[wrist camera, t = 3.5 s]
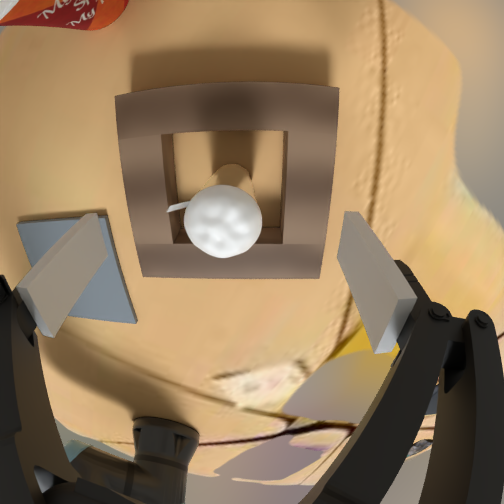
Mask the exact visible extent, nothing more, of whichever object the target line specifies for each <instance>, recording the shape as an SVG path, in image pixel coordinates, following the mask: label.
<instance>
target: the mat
mask: <svg viewBox="0 0 504 504" xmlns="http://www.w3.org/2000/svg"><path fill="white" fill-rule="evenodd" d="M81 218H82V217H73V218H60V219H47V220H36V221H25V222H19V223H17V224H16V225H17V228H18V231H19V234H20V237H21V240H22V243H23V246H24V249H25V251H26V254H27V257H28V259H29V262H30V264H31V267H33V266H34V265H35V264H36V263H37V262H38V261H39V260H40V259H41V258H42V257H43V255H44V254H45V253H46V252H47V251H48V250H49V249H50V248H51V247H52V246H53V245H54V244H55V243H56V242H57V241H58V240H59V239H60V238H61V237H62V236H63V235H64V234H65V233H66V232H67V231H68V230H69V229H70V228H71V227H72V226H73V225H74V224H76V223H77V222H78V221H79V220H80V219H81ZM98 219H99V224H100V228H101V231H102V235H103V239H104V243H105V246H106V250H107V253H108V256H107V257H106V259H105V260H104V262H103V263H102V264H101V266H100V267H99V269H98V270H97V271H96V273H95V274H94V276H93V277H92V279H91V280H90V282H89V283H88V284H87V286H86V287H85V289H84V290H83V292H82V293H81V295H80V297H79V298H78V300H77V301H76V303H75V304H74V306H73V307H72V309H71V311H70V312H69V314H68V315H67V316H73V317H80V318H88V319H95V320H104V321H112V322H122V323H132V324H136V323H137V321H138V320H137V317H136V314H135V312H134V309H133V306H132V303H131V300H130V297H129V294H128V290H127V287H126V284H125V281H124V277H123V274H122V271H121V267H120V264H119V260H118V256H117V253H116V249H115V245H114V241H113V237H112V233H111V229H110V224H109V220H108V215H106V216H98Z"/></svg>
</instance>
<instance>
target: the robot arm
mask: <svg viewBox="0 0 504 504" xmlns="http://www.w3.org/2000/svg"><path fill="white" fill-rule="evenodd" d="M107 256H108V253H107V250H106V246H105V243H104V239H103V235H102V231H101V228H100V224H99V219H98V215H97V213H87V214H85V215H84V216H83V217H82V218H81V219H80V220H79V221H78V222H77V223H76V224H74V225H73V226H72V227H71V228H70V229H69V230H68V231H67V232H66V233H65V234H64V235H63V236H62V237H61V238H60V239H59V240H58V241H57V242H56V243H55V244H54V245H53V246H52V247H51V248H50V249H49V250H48V251H47V252H46V253H45V254H44V255H43V257H42V258H41V259H40V260H39V261H38V262H37V263H36V264H35V265H34V266H33V267H32V269H31V270H30V271H29V272H28V273H27V274H26V275H25V277H24V278H23V279H22V280H21V281H20V282H19V284H18V285H17V286H16V287H15V289H14V290H13V291H11V289H10V287H9V285H8V283H7V281H6V279H5V276H4V275H0V504H185V492H186V481H187V471H188V465H189V462H190V461H191V459H192V457H193V455H194V453H195V451H196V449H197V447H198V445H199V434H198V433H197V432H196V431H195V430H193V429H191V428H189V427H187V426H185V425H182V424H179V423H176V422H173V421H169V420H165V419H160V418H153V417H141V418H137V419H135V421H134V425H133V438H134V446H135V457H134V461H133V462H131V461H128V460H125V459H123V458H120V457H117V456H115V455H112V454H110V453H107V452H105V451H102V450H100V449H98V448H95V447H93V446H92V445H88V444H85V443H83V442H80V441H78V440H70V441H68V442H67V443H66V445H65V446H64V447H63V444H62V441H61V438H60V435H59V432H58V430H57V426H56V423H55V419H54V416H53V413H52V409H51V405H50V402H49V398H48V394H47V389H46V385H45V380H44V375H43V370H42V365H41V359H40V353H39V346H38V339H37V335H36V333H35V332H34V330H35V328H36V326H37V327H38V328H39V330H40V331H41V333H42V335H44V336H48V337H52V338H54V337H55V336H56V334H57V332H58V330H59V329H60V327H61V325H62V324H63V322H64V320H65V319H66V317H67V315H68V314H69V312H70V311H71V309H72V307H73V306H74V304H75V303H76V301H77V300H78V298H79V297H80V295H81V293H82V292H83V290H84V289H85V287H86V286H87V284H88V283H89V282H90V280H91V279H92V277H93V276H94V274H95V273H96V271H97V270H98V269H99V267H100V266H101V264H102V263H103V262H104V260H105V259H106V257H107ZM337 259H338V261H339V264H340V266H341V268H342V271H343V273H344V275H345V278H346V280H347V283H348V285H349V288H350V290H351V293H352V295H353V298H354V300H355V303H356V306H357V308H358V311H359V313H360V316H361V319H362V321H363V324H364V327H365V330H366V332H367V335H368V338H369V341H370V344H371V346H372V349H373V352H374V354H377V353H386V352H391V351H392V350H393V348H394V346H395V344H396V342H397V343H398V345H399V348H400V351H399V352H398V354H397V356H396V358H395V359H394V361H393V363H392V364H391V368H390V371H389V373H388V375H387V376H386V378H385V380H384V382H383V384H382V386H381V388H380V390H379V391H378V394H377V395H376V397H375V399H374V401H373V402H372V404H371V406H370V407H369V409H368V411H367V412H366V414H365V416H364V417H363V419H362V421H361V422H360V424H359V425H358V427H357V428H356V430H355V432H354V433H353V435H352V436H351V438H350V439H349V441H348V442H347V443H346V445H345V446H344V448H343V449H342V451H341V452H340V453H339V455H338V456H337V458H336V459H335V460H334V462H333V463H332V464H331V466H330V467H329V468H328V470H327V471H326V472H325V473H324V475H323V476H322V477H321V478H320V480H319V481H318V482H317V483H316V485H315V486H314V487H313V488H312V489H311V490H310V492H309V493H308V494H307V495H306V496H305V497H304V498H303V499H302V500H301V501H300V502H299V503H298V504H380V502H381V501H382V499H383V498H384V496H385V494H386V493H387V491H388V489H389V488H390V486H391V484H392V483H393V481H394V479H395V477H396V476H397V474H398V472H399V470H400V468H401V466H402V465H403V463H404V461H405V459H406V457H407V455H408V453H409V451H410V449H411V447H412V444H413V442H414V440H415V438H416V436H417V433H418V431H419V429H420V426H421V424H422V422H423V419H424V417H425V414H426V411H427V409H428V406H429V403H430V401H431V398H432V395H433V392H434V389H435V386H436V383H437V380H438V377H439V386H438V401H437V412H436V421H435V429H434V436H433V442H432V448H431V454H430V459H429V464H428V469H427V474H426V478H425V482H424V486H423V490H422V493H421V497H420V500H419V504H501V499H502V493H503V486H504V375H503V368H502V362H501V356H500V350H499V345H498V340H497V335H496V331H495V326H494V323H493V321H492V319H491V318H490V317H489V315H488V314H486V313H485V312H483V311H480V310H475V309H474V310H471V311H470V313H469V314H468V316H467V317H466V319H462V318H457V317H452V315H451V313H450V311H449V310H448V309H447V308H446V307H445V306H443V305H441V304H440V303H436V302H432V301H431V300H430V298H429V297H428V295H427V294H426V292H425V291H424V289H423V287H422V286H421V284H420V283H419V282H418V280H417V278H416V277H415V276H414V274H413V273H412V271H411V270H410V268H409V267H408V266H407V265H406V264H404V263H403V262H402V261H401V260H393V259H392V257H391V256H390V254H389V253H388V251H387V250H386V249H385V247H384V246H383V244H382V243H381V241H380V240H379V239H378V237H377V236H376V234H375V233H374V232H373V230H372V229H371V228H370V226H369V225H368V224H367V222H366V221H365V220H364V218H363V217H362V216H361V214H360V213H359V212H352V211H345V213H344V220H343V226H342V232H341V238H340V243H339V249H338V254H337ZM41 491H42V492H43V493H42V492H41Z"/></svg>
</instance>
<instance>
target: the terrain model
mask: <svg viewBox="0 0 504 504" xmlns="http://www.w3.org/2000/svg"><path fill="white" fill-rule="evenodd" d="M432 442H433V441H432V440H425V439H424V440H420V441H418V442H416V443H414V444H412V447H411V449H410V451H409V453H408V455H407V457H409V456H411V455H414V454H417V453H418V452H420V451H422V450H424V449H426V448H427V447H428V446H430V445H431V444H432Z"/></svg>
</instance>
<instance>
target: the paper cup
mask: <svg viewBox="0 0 504 504" xmlns="http://www.w3.org/2000/svg"><path fill="white" fill-rule="evenodd" d="M128 1H129V0H0V26H12V25H24V26H48V27H60V28H70V29H80V30H98V29H101V28H104V27H106V26H108V25H109V24H111V23H112V22H114V21H115V20H116V19H117V18H118V17H119V16H120V15H121V14H122V12H123V11H124V10H125V8H126V6H127V4H128Z"/></svg>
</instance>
